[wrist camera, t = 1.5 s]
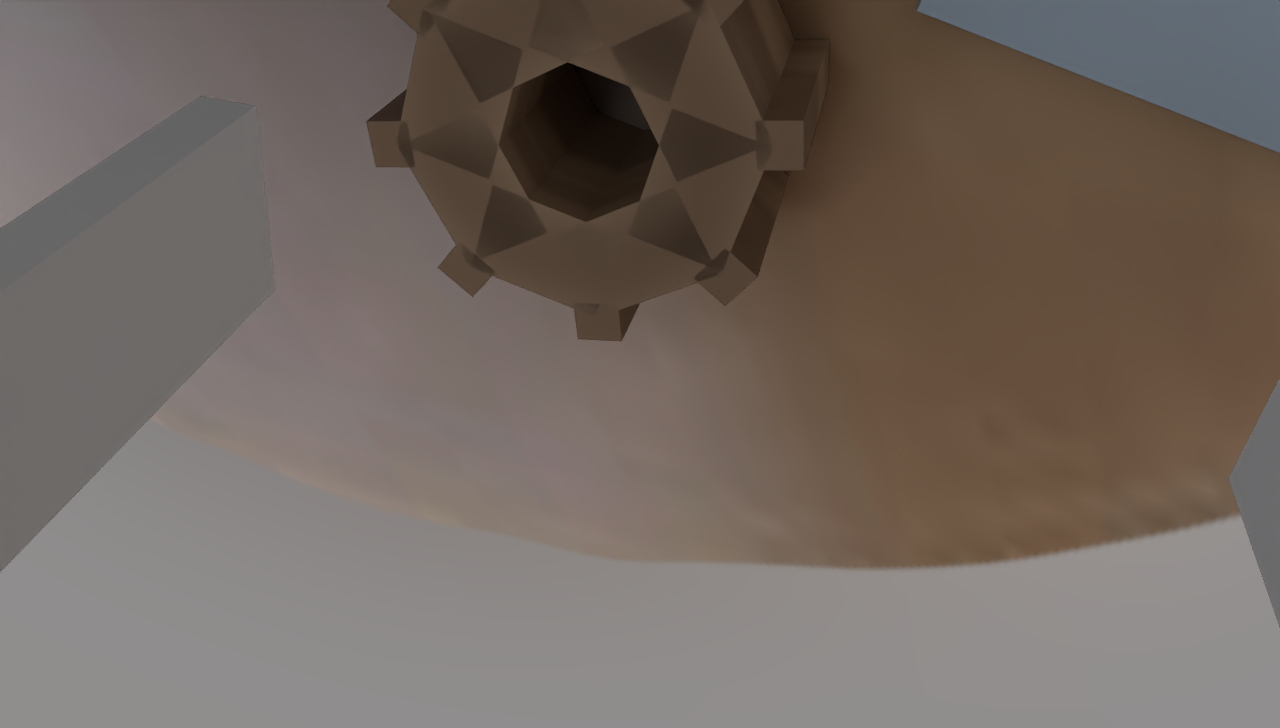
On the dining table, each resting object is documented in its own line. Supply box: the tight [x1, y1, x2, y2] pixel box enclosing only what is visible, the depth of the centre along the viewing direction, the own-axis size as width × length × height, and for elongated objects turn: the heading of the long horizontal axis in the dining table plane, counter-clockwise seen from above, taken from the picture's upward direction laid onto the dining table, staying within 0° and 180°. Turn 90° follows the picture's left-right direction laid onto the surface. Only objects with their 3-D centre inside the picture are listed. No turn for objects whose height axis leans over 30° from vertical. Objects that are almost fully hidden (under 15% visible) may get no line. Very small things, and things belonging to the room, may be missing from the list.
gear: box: [366, 0, 829, 341], centre depth 27 cm, size 10×10×6 cm
